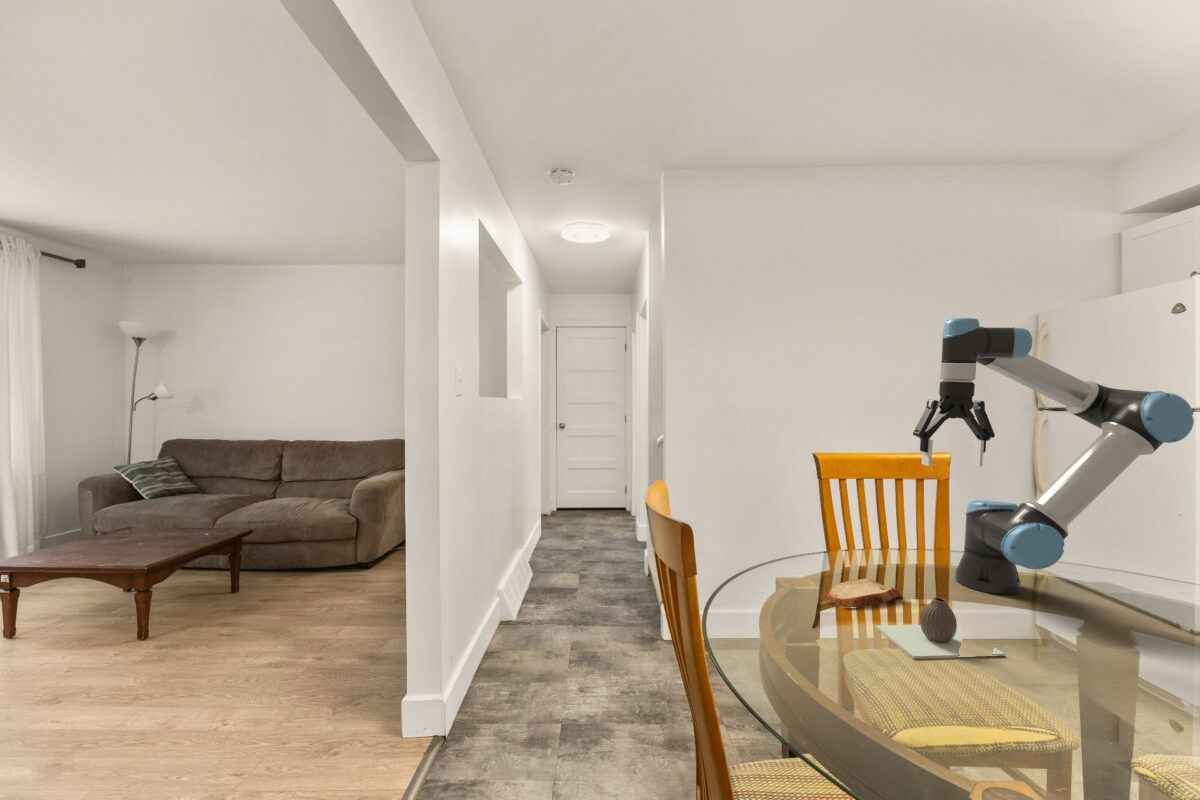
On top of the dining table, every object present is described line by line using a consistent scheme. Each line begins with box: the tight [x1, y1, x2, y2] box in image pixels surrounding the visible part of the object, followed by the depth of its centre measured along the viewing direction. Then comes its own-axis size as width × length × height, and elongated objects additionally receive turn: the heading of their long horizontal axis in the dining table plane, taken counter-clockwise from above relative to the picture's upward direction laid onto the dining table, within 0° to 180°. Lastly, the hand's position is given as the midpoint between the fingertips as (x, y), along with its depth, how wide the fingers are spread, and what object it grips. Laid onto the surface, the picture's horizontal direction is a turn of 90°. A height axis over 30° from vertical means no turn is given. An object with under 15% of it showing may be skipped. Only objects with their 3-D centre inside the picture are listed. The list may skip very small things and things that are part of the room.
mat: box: [874, 623, 1006, 660], centre depth 130 cm, size 20×14×1 cm
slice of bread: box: [827, 578, 900, 608], centre depth 153 cm, size 18×18×4 cm
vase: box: [919, 596, 958, 643], centre depth 130 cm, size 7×7×9 cm
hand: (951, 465), depth 151 cm, fingers open, 13 cm apart
